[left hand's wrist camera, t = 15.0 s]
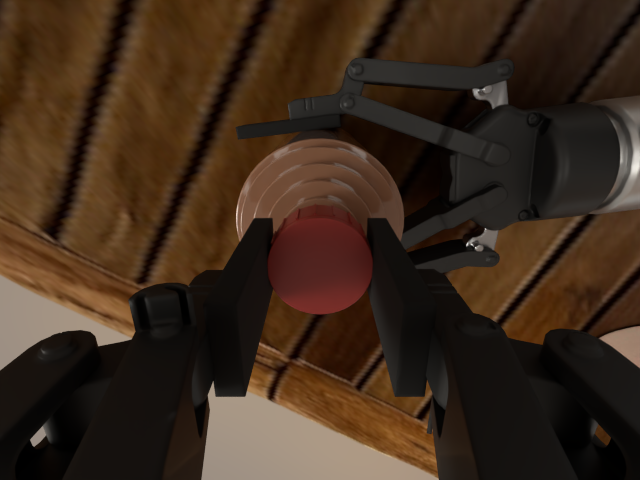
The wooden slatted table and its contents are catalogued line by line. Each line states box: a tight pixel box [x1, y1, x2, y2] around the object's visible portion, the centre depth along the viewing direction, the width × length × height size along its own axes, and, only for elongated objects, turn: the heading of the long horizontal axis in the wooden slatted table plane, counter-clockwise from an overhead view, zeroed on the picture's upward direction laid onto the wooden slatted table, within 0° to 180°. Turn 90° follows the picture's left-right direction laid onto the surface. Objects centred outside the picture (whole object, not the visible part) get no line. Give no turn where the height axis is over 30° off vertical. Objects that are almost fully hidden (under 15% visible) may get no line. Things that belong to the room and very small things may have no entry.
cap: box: [267, 204, 373, 314], centre depth 13 cm, size 4×4×2 cm
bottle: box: [236, 127, 404, 241], centre depth 22 cm, size 8×8×18 cm
